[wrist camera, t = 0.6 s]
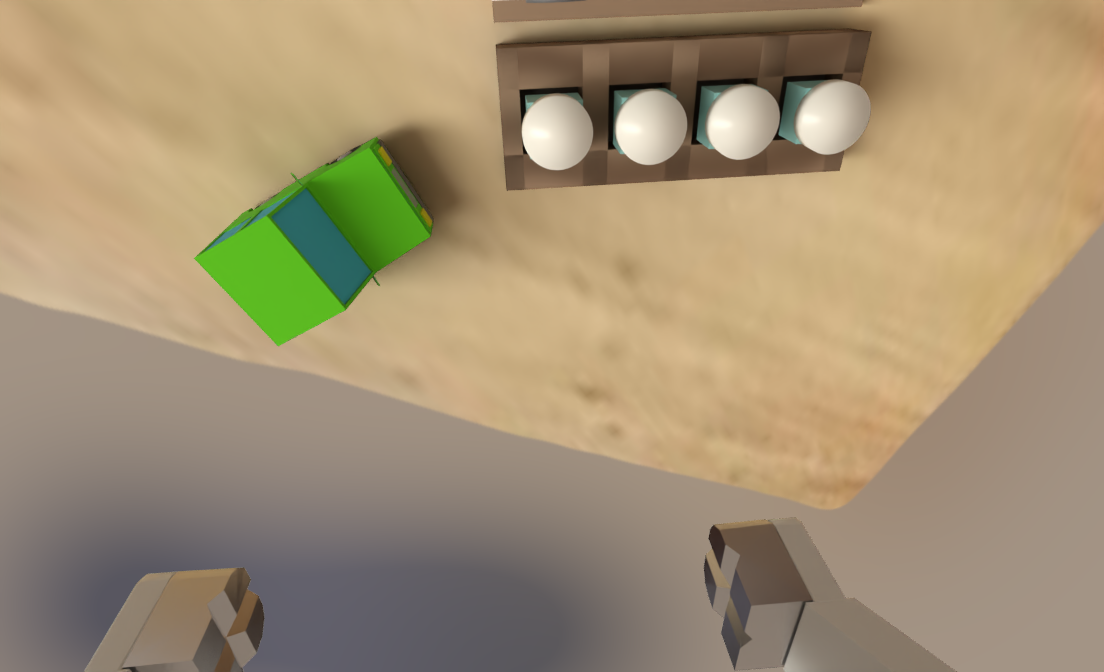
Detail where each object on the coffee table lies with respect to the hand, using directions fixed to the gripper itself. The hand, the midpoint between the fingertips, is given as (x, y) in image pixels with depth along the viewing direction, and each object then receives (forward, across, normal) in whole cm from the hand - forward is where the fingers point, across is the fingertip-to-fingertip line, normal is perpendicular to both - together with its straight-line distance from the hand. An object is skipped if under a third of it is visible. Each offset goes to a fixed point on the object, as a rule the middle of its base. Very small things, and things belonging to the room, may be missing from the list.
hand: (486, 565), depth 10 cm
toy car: (+41, +13, +7) cm, 44 cm away
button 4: (+38, -24, 0) cm, 45 cm away
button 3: (+38, -18, 0) cm, 42 cm away
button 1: (+38, -5, 0) cm, 38 cm away
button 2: (+38, -11, 0) cm, 40 cm away
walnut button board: (+41, -14, 0) cm, 43 cm away
